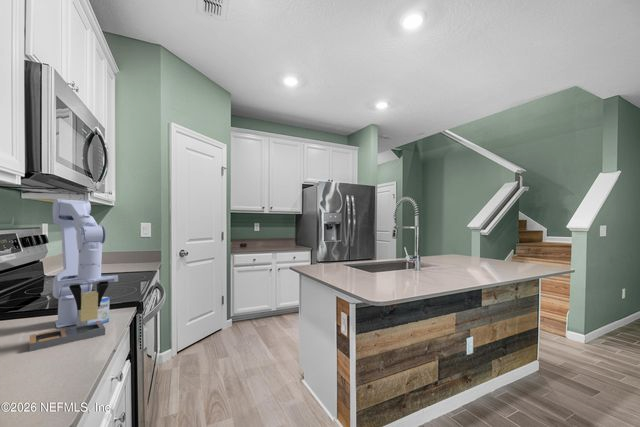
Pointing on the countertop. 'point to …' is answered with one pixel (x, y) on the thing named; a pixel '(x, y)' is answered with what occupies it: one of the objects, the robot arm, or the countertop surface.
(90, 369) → the countertop surface
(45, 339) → the rail
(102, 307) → the medicine box
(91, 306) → the peg
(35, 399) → the countertop surface
